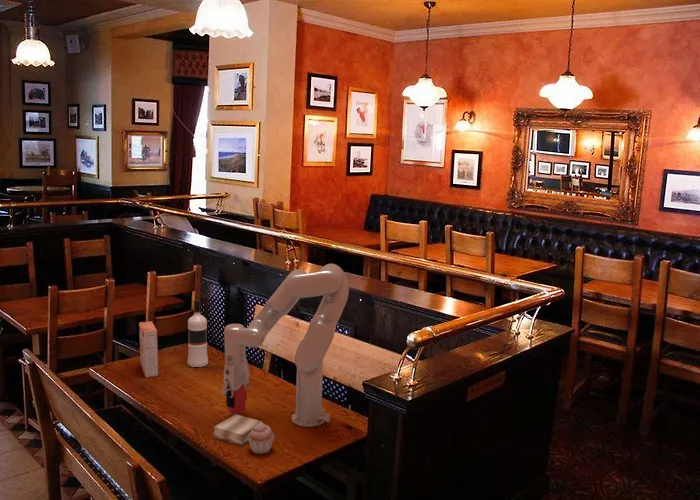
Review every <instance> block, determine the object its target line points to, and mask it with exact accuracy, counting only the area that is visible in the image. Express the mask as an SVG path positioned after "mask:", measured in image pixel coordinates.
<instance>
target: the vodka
mask: <svg viewBox="0 0 700 500" xmlns="http://www.w3.org/2000/svg"><path fill="white" fill-rule="evenodd" d="M193 304H194V310H193V311H194V314H193V315H192V316H190V317H189V318H188V320H187V329H188V331H187V333H188V335H187V336H188V337H187V338H188V343H187V345H188V354H187V360H186V361H187V366H189V367H190V366H191V368H194V367H199V368H203V366H204V367H206V366H207V365H208V364H209V357H208V350H207V349H208V342H207V338H208V336H207V330H208V326H207V325H208V319H207V318H206V317H205V316H204V315H202V314H201V300H199V299H195V300H194V301H193Z"/></svg>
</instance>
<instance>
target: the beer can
mask: <svg viewBox="0 0 700 500" xmlns="http://www.w3.org/2000/svg"><path fill="white" fill-rule="evenodd" d="M229 388H230V387H229ZM230 389H231V388H230ZM229 393H230V394H231V390H229ZM233 397H234V405H235V407H234V408H231V407H227V412H228V413H230V414H232V415H234V414H237V415H241V414H242V413H244V412H246V409H247V408H246V402H247V397H246V398H245V385H244V384H242V385H241V386H240V389H238V390H236V391H234V395H233Z"/></svg>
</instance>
